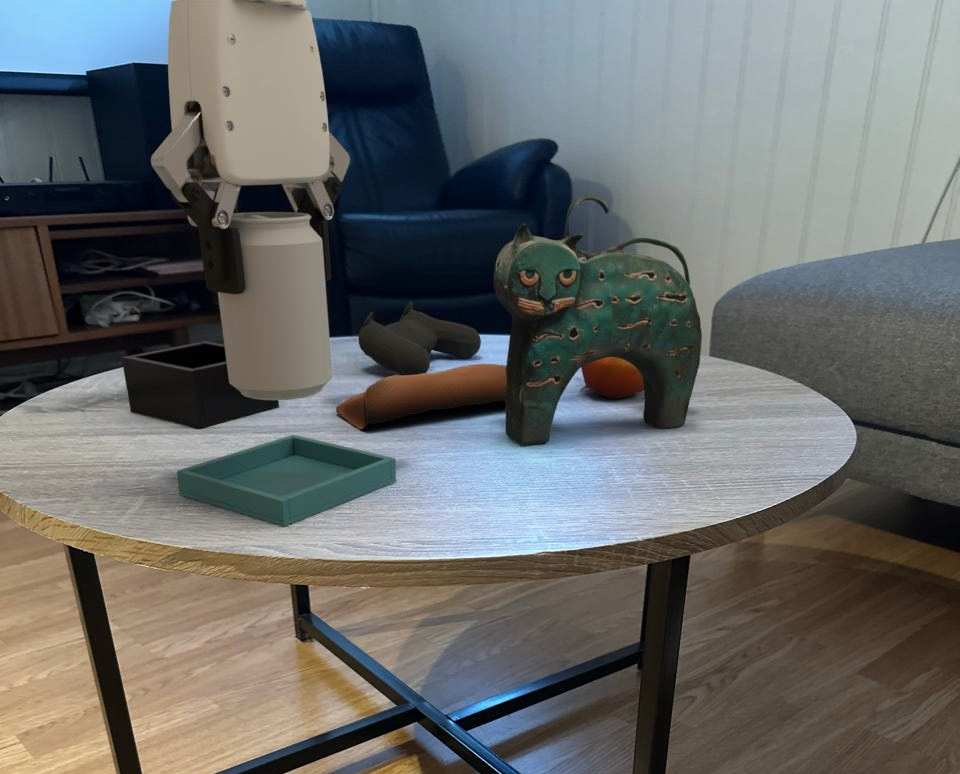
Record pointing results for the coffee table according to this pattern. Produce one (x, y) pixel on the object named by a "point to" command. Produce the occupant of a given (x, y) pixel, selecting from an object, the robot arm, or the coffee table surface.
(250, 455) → the tray
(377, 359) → the gaming controller
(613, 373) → the fruit
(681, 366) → the ceramic cat
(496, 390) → the sunglasses case
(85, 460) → the coffee table surface
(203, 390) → the box
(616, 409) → the coffee table surface
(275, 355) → the can
